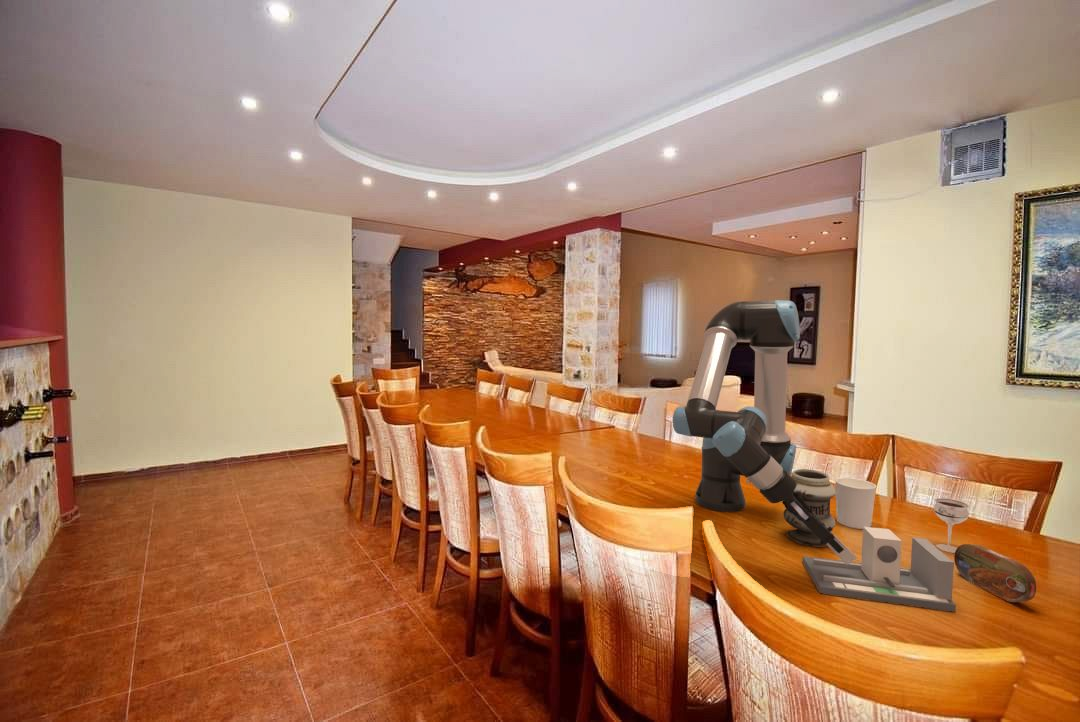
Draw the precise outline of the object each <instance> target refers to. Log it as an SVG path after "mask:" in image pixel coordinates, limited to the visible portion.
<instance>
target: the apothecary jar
mask: <svg viewBox="0 0 1080 722" xmlns="http://www.w3.org/2000/svg"><path fill="white" fill-rule="evenodd" d="M791 477H792V478H793V479H794V480H795V481H796V484H797V485H796V488H795V490H794V491H793V492H794V493H795V492H796V493H797V494H798V495H799V496H800V497H801V498H802V499H803V501H804V502H805V503H806V504H807V505H808V507H809V508H810V509H811V510H812V513H813V514H814V515H815V516H816V517H817V518H818V519H819V520H820V521H821V522H822V523H824V524H825V526H826V528H829V527H831V528H832V529H833V530H834V528H835V526H836V520H835V517H834V516H833V515H832V514H831V499H833V498H835V497H836V486H834V485H833V483H831V481H830V477H829V475H828V474H827V473H825V472H822V471H819V470H815V469H810V468H809V469H808V468H807V469H806V468H799V469H794V470H792V472H791ZM782 515H783V518H784V521H785V522H786V523H787V524H788V525H790V526H791V527H792V528H795V529H790V530H788V531H787V532H786V536H787V538H788V539H789V540H791V541H793V542H795V543H797V544H799V545H802V546H810V547H813V548H824V547H828V546H827V545H826V544H824V545H822V544H821V543H820V541H821V539H820V538H819V537H818V536H816V535H815V534H814V533H813V532H812V531H811V530H810V529H809V528H808V527H807V526H806V525H805V524H804V523H803V522H802V521H800V520H799V519H798V518H797V517H796V516H795V515H794V514H793V513H790V512H789V511H788V510H787V509H786V508H785V509H784V511H783V512H782Z"/></svg>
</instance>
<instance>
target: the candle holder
mask: <svg viewBox="0 0 1080 722" xmlns="http://www.w3.org/2000/svg"><path fill="white" fill-rule="evenodd" d="M834 481H835V489H836V494H835V505H836V506H835V509H836V512H835V513H836V520H837V523H839V524H840V525H842V526H845V527H848V528H851V529H856V530H857V529H858V530H863V527H872V523H873V522H872V521H873V513H874V506H875V496H876V491H877V490H876V489H877V485H876V484H875V483H873V482H871V481H868V480H866V479H865V480H864V479H860V478H856V477H854V478H853V477H838V478H835V480H834Z"/></svg>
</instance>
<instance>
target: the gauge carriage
mask: <svg viewBox="0 0 1080 722" xmlns="http://www.w3.org/2000/svg"><path fill="white" fill-rule="evenodd" d="M861 540H862V543H861V544H862V545H861V562H860V563H861V570H862V571H863V573H864V574H865V575H866V576H867V578H868V579H869V580H870V581H876V582H884V583H888V584H889V585H890V586H891V587H895V586H894V584H899V580H900V568H901V561H902V559H901V558H902V544H903V543H902V540H901V539H900V538H899V537H898V536H897V535H896V534H895V533H894V532H893V531H892V530H891V529H889V528H882V527H881V528H880V527H872V526H871V527H863V529H862V539H861Z"/></svg>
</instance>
